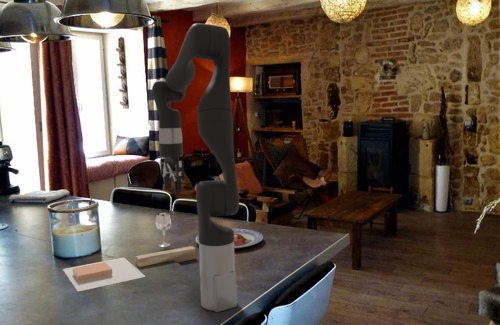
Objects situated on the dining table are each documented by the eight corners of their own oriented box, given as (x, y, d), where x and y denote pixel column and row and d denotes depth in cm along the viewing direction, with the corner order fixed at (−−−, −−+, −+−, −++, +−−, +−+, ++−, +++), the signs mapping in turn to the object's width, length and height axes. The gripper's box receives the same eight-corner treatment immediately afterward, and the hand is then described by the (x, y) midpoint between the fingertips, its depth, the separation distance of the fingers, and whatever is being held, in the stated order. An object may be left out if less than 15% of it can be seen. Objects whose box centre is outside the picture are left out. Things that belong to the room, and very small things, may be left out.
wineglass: (157, 248, 176) (155, 216, 174) (156, 243, 181) (154, 213, 180) (172, 246, 177) (171, 215, 176) (171, 242, 183) (169, 211, 181)
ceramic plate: (182, 248, 176) (181, 240, 176) (218, 230, 199) (218, 223, 199) (242, 257, 164) (242, 249, 164) (274, 237, 187) (274, 230, 187)
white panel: (146, 279, 145) (145, 276, 145) (78, 294, 134) (77, 291, 134) (123, 260, 163) (123, 257, 163) (62, 272, 153) (62, 269, 153)
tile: (112, 269, 146) (78, 276, 141) (112, 275, 146) (78, 282, 141) (104, 262, 153) (72, 268, 147) (105, 267, 153) (73, 274, 148)
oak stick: (195, 259, 164) (195, 248, 163) (139, 270, 154) (138, 258, 153) (192, 257, 166) (191, 245, 166) (136, 268, 156) (135, 256, 156)
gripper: (190, 142, 152) (192, 192, 154) (172, 140, 164) (174, 186, 166) (168, 143, 148) (170, 194, 150) (152, 141, 160) (154, 188, 162)
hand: (172, 190), depth 158 cm, fingers open, 8 cm apart
